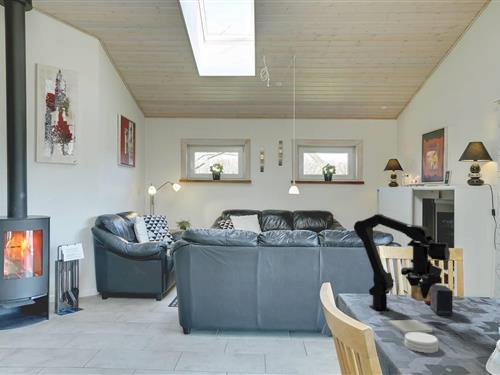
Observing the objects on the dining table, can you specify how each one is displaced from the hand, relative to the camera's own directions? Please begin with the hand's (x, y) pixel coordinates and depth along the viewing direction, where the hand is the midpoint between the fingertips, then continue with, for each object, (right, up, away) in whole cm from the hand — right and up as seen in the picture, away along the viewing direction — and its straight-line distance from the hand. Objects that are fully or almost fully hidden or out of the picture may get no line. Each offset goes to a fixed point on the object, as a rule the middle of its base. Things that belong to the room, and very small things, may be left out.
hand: (420, 296), depth 151 cm
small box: (+13, -9, +8) cm, 18 cm away
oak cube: (0, -1, 0) cm, 1 cm away
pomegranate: (+15, -10, +21) cm, 28 cm away
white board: (-9, -8, -12) cm, 17 cm away
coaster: (-13, -8, -30) cm, 34 cm away
